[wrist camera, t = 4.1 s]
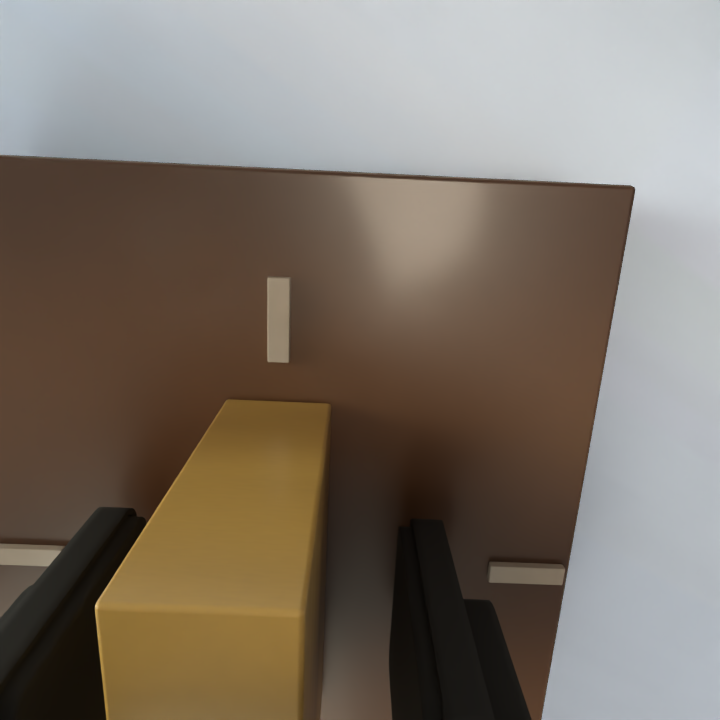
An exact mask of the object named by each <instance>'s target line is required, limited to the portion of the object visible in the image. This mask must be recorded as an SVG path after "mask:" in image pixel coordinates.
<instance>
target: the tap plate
mask: <svg viewBox="0 0 720 720" xmlns="http://www.w3.org/2000/svg"><path fill="white" fill-rule="evenodd" d="M634 194H635V188H634V187H633V186H630V185H610V184H589V183H569V182H548V181H528V180H507V179H487V178H466V177H446V176H425V175H405V174H384V173H364V172H343V171H323V170H302V169H282V168H261V167H241V166H220V165H200V164H179V163H159V162H138V161H118V160H97V159H77V158H56V157H36V156H15V155H0V618H1V617H2V616H3V614H4V613H5V612H6V611H7V610H8V609H9V607H10V606H11V605H12V604H13V603H14V601H15V600H16V599H17V598H18V597H19V596H20V594H21V593H22V592H23V591H24V590H25V589H27V588H28V587H29V586H31V585H33V584H34V583H35V582H36V581H37V579H38V578H39V577H40V576H41V575H42V573H43V572H44V571H45V570H46V569H47V568H48V566H49V565H50V564H51V563H52V562H53V560H54V559H55V558H56V557H57V556H58V554H59V553H60V552H61V551H62V550H63V548H64V547H65V546H66V545H67V544H68V542H69V541H70V540H71V539H72V538H73V536H74V535H75V534H76V533H77V532H78V530H79V529H80V528H81V527H82V526H83V524H84V523H85V522H86V521H87V520H88V518H89V517H90V516H91V515H92V514H93V512H94V511H95V510H96V509H97V508H98V507H123V508H133V509H135V511H136V514H137V517H144V518H145V520H146V524H147V523H148V521H149V520H150V518H151V517H152V515H153V514H154V512H155V510H156V509H157V507H158V506H159V504H160V503H161V501H162V500H163V498H164V496H165V495H166V493H167V492H168V490H169V489H170V487H171V486H172V484H173V482H174V481H175V479H176V478H177V476H178V475H179V473H180V472H181V470H182V468H183V467H184V465H185V464H186V462H187V461H188V459H189V457H190V456H191V454H192V453H193V451H194V450H195V448H196V447H197V445H198V443H199V442H200V440H201V439H202V437H203V436H204V434H205V433H206V431H207V429H208V428H209V426H210V425H211V423H212V422H213V420H214V419H215V417H216V415H217V414H218V412H219V411H220V409H221V408H222V406H223V405H224V403H225V401H226V400H228V399H231V400H255V401H279V402H303V403H327V404H330V405H331V435H330V465H329V495H328V524H327V554H326V583H325V613H324V643H323V672H322V702H321V716H320V720H392V710H391V694H390V679H389V644H390V631H391V618H392V604H393V591H394V578H395V564H396V551H397V538H398V528H399V526H400V527H409V525H410V520H411V519H436V520H442V521H443V524H444V528H445V531H446V535H447V539H448V543H449V547H450V550H451V554H452V558H453V562H454V566H455V570H456V573H457V577H458V581H459V585H460V589H461V592H462V596H463V599H481V600H490V601H491V602H492V604H493V606H494V608H495V611H496V614H497V617H498V620H499V623H500V626H501V629H502V632H503V635H504V638H505V641H506V644H507V647H508V650H509V653H510V656H511V659H512V662H513V665H514V668H515V671H516V674H517V677H518V680H519V683H520V686H521V689H522V692H523V695H524V698H525V701H526V704H527V707H528V710H529V713H530V716H531V719H532V720H541V717H542V712H543V706H544V700H545V695H546V689H547V683H548V678H549V672H550V667H551V661H552V655H553V650H554V644H555V638H556V633H557V627H558V622H559V616H560V610H561V605H562V599H563V593H564V588H565V582H566V577H567V571H568V565H569V560H570V554H571V548H572V543H573V537H574V532H575V526H576V520H577V515H578V509H579V503H580V498H581V492H582V487H583V481H584V475H585V470H586V464H587V458H588V453H589V447H590V442H591V436H592V430H593V425H594V419H595V413H596V408H597V402H598V397H599V391H600V385H601V380H602V374H603V368H604V363H605V357H606V352H607V346H608V340H609V335H610V329H611V323H612V318H613V312H614V307H615V301H616V295H617V290H618V284H619V278H620V273H621V267H622V262H623V256H624V250H625V245H626V239H627V233H628V228H629V222H630V217H631V211H632V205H633V200H634Z"/></svg>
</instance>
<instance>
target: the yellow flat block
mask: <svg viewBox="0 0 720 720" xmlns="http://www.w3.org/2000/svg"><path fill="white" fill-rule="evenodd" d="M330 435H331V405H330V404H327V403H303V402H279V401H255V400H231V399H228V400H226V401H225V403H224V405H223V406H222V408H221V409H220V411H219V412H218V414H217V415H216V417H215V419H214V420H213V422H212V423H211V425H210V426H209V428H208V429H207V431H206V433H205V434H204V436H203V437H202V439H201V440H200V442H199V443H198V445H197V447H196V448H195V450H194V451H193V453H192V454H191V456H190V457H189V459H188V461H187V462H186V464H185V465H184V467H183V468H182V470H181V472H180V473H179V475H178V476H177V478H176V479H175V481H174V482H173V484H172V486H171V487H170V489H169V490H168V492H167V493H166V495H165V496H164V498H163V500H162V501H161V503H160V504H159V506H158V507H157V509H156V510H155V512H154V514H153V515H152V517H151V518H150V520H149V521H148V523H147V524H146V526H145V528H144V529H143V531H142V532H141V534H140V535H139V537H138V538H137V540H136V542H135V543H134V545H133V546H132V548H131V549H130V551H129V552H128V554H127V556H126V557H125V559H124V560H123V562H122V563H121V565H120V566H119V568H118V570H117V571H116V573H115V574H114V576H113V577H112V579H111V580H110V582H109V584H108V585H107V587H106V588H105V590H104V591H103V593H102V594H101V596H100V598H99V599H98V601H97V602H96V605H95V617H96V626H97V635H98V645H99V654H100V663H101V673H102V682H103V692H104V701H105V710H106V720H320V716H321V702H322V672H323V643H324V613H325V583H326V554H327V524H328V495H329V465H330Z"/></svg>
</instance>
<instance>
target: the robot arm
mask: <svg viewBox="0 0 720 720" xmlns="http://www.w3.org/2000/svg"><path fill="white" fill-rule="evenodd" d="M145 526H146V520H145V518H144V517H137V514H136V511H135V509H133V508H123V507H98V508H97V509H96V510H95V511H94V512H93V514H92V515H91V516H90V517H89V518H88V520H87V521H86V522H85V523H84V524H83V526H82V527H81V528H80V529H79V530H78V532H77V533H76V534H75V535H74V536H73V538H72V539H71V540H70V541H69V542H68V544H67V545H66V546H65V547H64V548H63V550H62V551H61V552H60V553H59V554H58V556H57V557H56V558H55V559H54V560H53V562H52V563H51V564H50V565H49V566H48V568H47V569H46V570H45V571H44V572H43V573H42V575H41V576H40V577H39V578H38V579H37V581H36V582H35V583H34V584H33V585H31V586H29V587H28V588H27V589H25V590H24V591H23V592H22V593H21V594H20V596H19V597H18V598H17V599H16V600H15V601H14V603H13V604H12V605H11V606H10V607H9V609H8V610H7V611H6V612H5V613H4V614H3V616H2V617H1V618H0V720H106V710H105V701H104V692H103V682H102V673H101V663H100V654H99V645H98V635H97V626H96V617H95V605H96V602H97V601H98V599H99V598H100V596H101V594H102V593H103V591H104V590H105V588H106V587H107V585H108V584H109V582H110V580H111V579H112V577H113V576H114V574H115V573H116V571H117V570H118V568H119V566H120V565H121V563H122V562H123V560H124V559H125V557H126V556H127V554H128V552H129V551H130V549H131V548H132V546H133V545H134V543H135V542H136V540H137V538H138V537H139V535H140V534H141V532H142V531H143V529H144V528H145ZM389 679H390V694H391V710H392V720H532V719H531V716H530V713H529V710H528V707H527V704H526V701H525V698H524V695H523V692H522V689H521V686H520V683H519V680H518V677H517V674H516V671H515V668H514V665H513V662H512V659H511V656H510V653H509V650H508V647H507V644H506V641H505V638H504V635H503V632H502V629H501V626H500V623H499V620H498V617H497V614H496V611H495V608H494V606H493V604H492V602H491V601H490V600H481V599H463V596H462V592H461V589H460V585H459V581H458V577H457V573H456V570H455V566H454V562H453V558H452V554H451V550H450V547H449V543H448V539H447V535H446V531H445V528H444V524H443V521H442V520H436V519H411V520H410V525H409V527H400V526H399V528H398V538H397V551H396V564H395V578H394V591H393V604H392V618H391V631H390V644H389Z"/></svg>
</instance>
